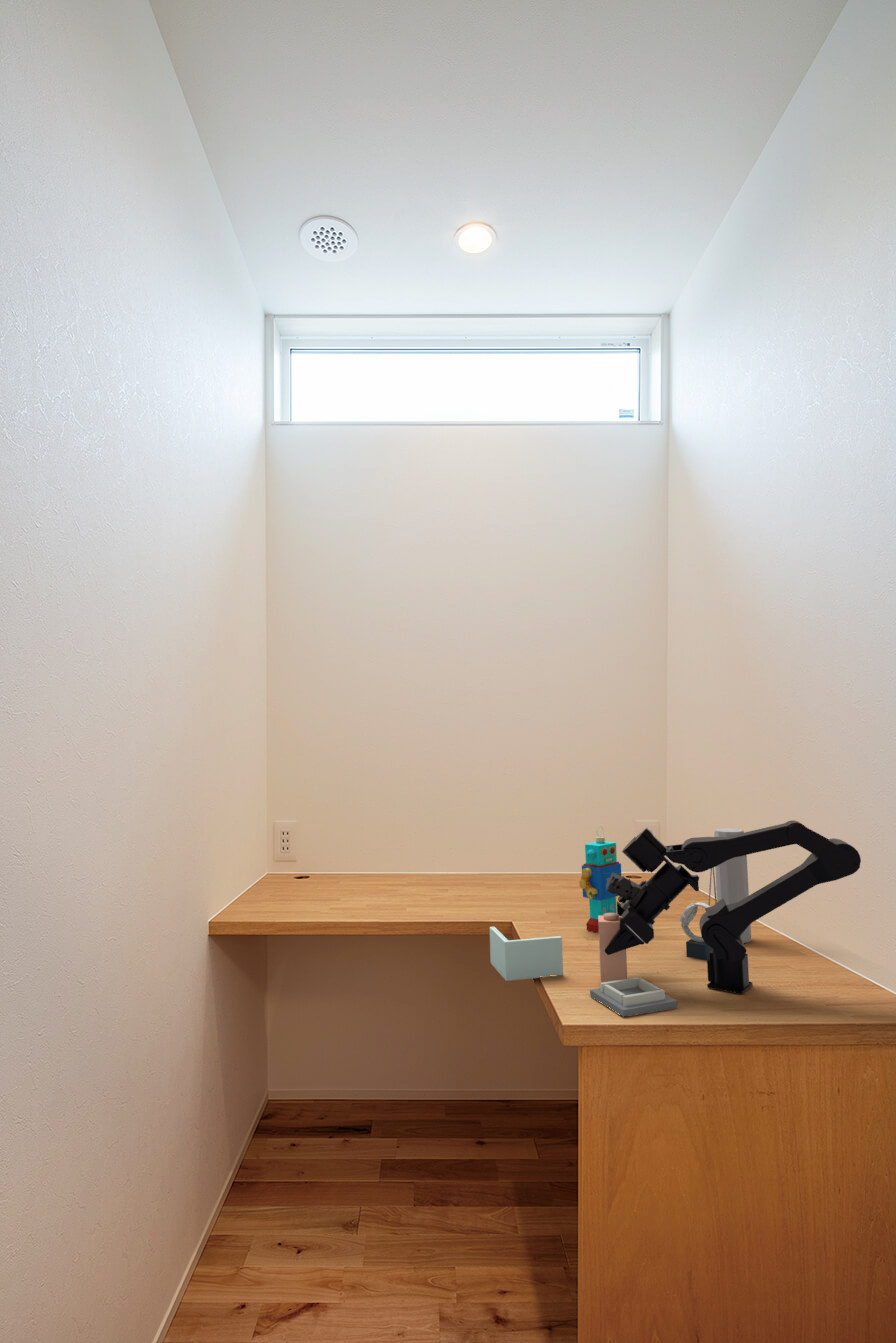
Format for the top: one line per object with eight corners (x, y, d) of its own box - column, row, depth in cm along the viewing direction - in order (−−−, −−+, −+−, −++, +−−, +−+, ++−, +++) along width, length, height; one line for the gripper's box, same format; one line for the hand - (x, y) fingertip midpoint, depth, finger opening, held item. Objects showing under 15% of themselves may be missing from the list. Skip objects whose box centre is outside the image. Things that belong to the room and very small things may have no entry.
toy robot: (600, 936, 179) (596, 829, 181) (580, 931, 183) (576, 827, 185) (629, 927, 186) (624, 824, 188) (609, 922, 191) (604, 823, 193)
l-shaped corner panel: (563, 975, 151) (561, 937, 152) (505, 980, 149) (504, 942, 149) (544, 958, 163) (542, 922, 164) (490, 962, 161) (489, 927, 161)
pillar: (626, 977, 149) (623, 911, 150) (627, 986, 144) (624, 918, 145) (600, 977, 150) (598, 911, 151) (601, 985, 145) (598, 917, 146)
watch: (688, 949, 167) (686, 898, 168) (724, 955, 161) (721, 903, 162) (677, 955, 163) (675, 903, 163) (714, 961, 157) (711, 908, 158)
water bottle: (755, 938, 173) (749, 829, 175) (747, 947, 167) (741, 833, 169) (715, 933, 179) (709, 827, 181) (705, 941, 172) (700, 831, 174)
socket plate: (641, 988, 143) (640, 973, 143) (677, 1008, 132) (676, 992, 132) (590, 996, 139) (589, 981, 139) (623, 1017, 128) (622, 1001, 129)
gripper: (627, 852, 157) (575, 904, 158) (632, 868, 139) (574, 928, 140) (668, 891, 155) (615, 944, 156) (679, 913, 137) (619, 973, 138)
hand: (605, 946), depth 148 cm, fingers open, 9 cm apart
